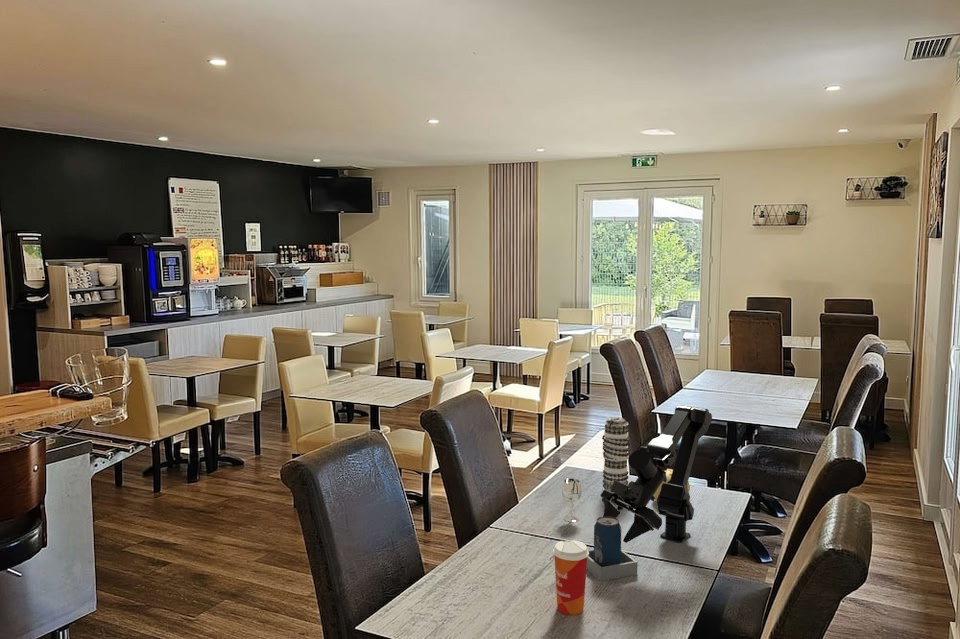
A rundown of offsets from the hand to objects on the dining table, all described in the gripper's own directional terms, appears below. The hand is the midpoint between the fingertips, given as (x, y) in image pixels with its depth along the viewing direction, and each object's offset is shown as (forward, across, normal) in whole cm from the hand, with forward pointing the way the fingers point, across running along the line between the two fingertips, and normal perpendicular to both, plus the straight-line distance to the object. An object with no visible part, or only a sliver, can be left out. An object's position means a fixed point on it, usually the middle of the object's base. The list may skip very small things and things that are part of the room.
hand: (612, 535), depth 185 cm
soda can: (+7, 0, +5) cm, 8 cm away
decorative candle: (-20, -44, +33) cm, 58 cm away
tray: (+7, 0, +5) cm, 9 cm away
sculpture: (-26, -26, +39) cm, 54 cm away
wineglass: (-1, -31, +14) cm, 34 cm away
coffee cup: (+22, +11, -9) cm, 26 cm away
